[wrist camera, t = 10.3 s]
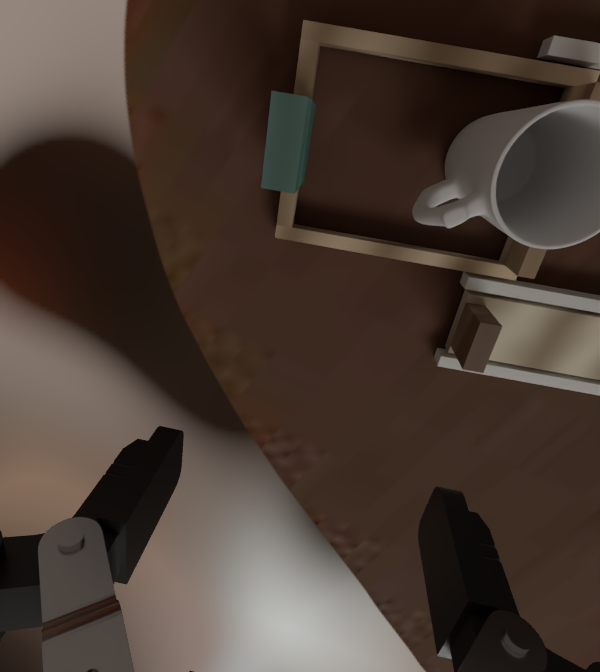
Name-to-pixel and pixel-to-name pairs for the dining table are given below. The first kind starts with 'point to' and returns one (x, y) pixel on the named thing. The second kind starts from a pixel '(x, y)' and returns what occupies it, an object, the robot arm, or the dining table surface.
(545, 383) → the lane rails
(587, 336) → the plain strip
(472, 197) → the mug
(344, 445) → the dining table surface
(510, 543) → the dining table surface
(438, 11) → the dining table surface
